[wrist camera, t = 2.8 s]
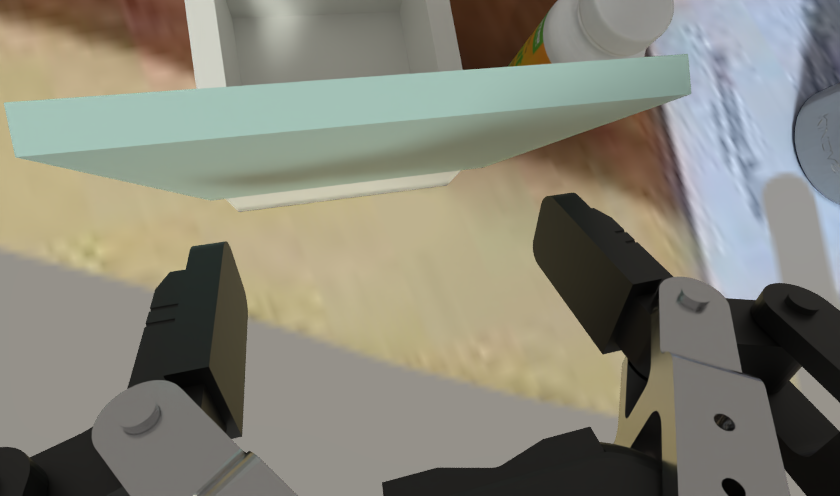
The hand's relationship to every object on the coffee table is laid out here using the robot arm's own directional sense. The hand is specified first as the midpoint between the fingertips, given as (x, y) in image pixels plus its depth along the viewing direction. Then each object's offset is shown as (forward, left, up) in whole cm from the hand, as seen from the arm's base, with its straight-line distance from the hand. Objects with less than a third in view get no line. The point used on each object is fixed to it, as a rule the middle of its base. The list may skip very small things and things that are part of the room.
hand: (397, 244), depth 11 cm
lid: (0, -4, -2) cm, 4 cm away
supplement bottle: (-13, -10, -14) cm, 22 cm away
